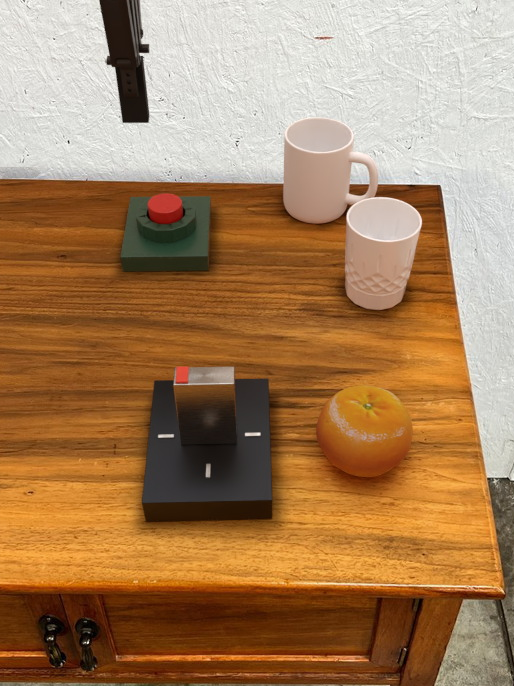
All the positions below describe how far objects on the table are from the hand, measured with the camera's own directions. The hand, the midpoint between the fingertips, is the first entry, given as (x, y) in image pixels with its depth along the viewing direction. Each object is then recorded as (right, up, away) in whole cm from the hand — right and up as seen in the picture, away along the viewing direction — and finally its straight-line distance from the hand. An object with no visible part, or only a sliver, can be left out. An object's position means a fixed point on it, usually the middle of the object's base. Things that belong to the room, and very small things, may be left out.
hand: (136, 119), depth 82 cm
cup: (+21, -6, +17) cm, 28 cm away
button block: (+2, -11, +13) cm, 17 cm away
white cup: (+26, -18, +7) cm, 32 cm away
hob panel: (+9, -35, -10) cm, 37 cm away
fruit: (+23, -34, -9) cm, 42 cm away
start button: (+2, -8, +10) cm, 13 cm away
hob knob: (+9, -33, -12) cm, 36 cm away
